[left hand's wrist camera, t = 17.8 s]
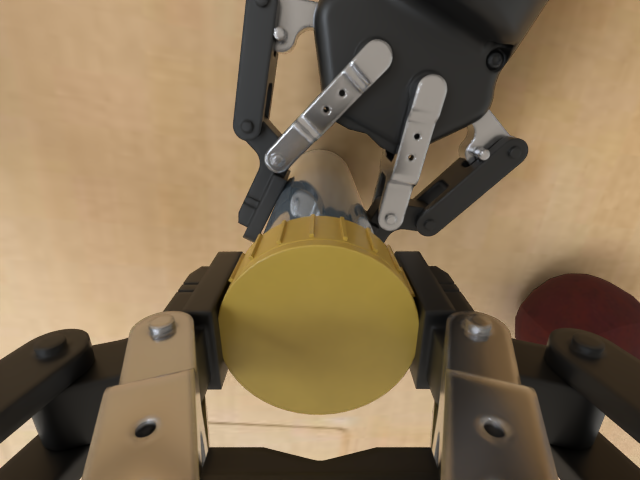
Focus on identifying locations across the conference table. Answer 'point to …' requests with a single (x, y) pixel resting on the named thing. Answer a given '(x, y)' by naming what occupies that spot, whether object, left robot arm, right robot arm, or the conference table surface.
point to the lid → (318, 317)
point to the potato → (580, 311)
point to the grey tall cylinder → (319, 191)
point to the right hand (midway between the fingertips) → (295, 254)
